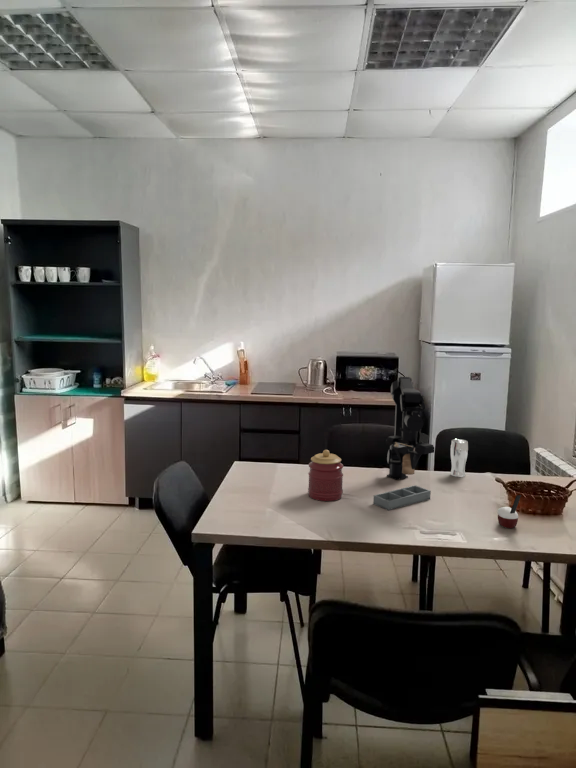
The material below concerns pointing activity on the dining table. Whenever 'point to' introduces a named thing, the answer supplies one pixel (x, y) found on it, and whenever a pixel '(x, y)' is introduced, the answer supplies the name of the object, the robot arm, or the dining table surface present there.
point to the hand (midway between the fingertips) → (408, 467)
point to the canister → (325, 477)
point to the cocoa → (509, 514)
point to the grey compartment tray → (401, 497)
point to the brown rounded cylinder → (407, 465)
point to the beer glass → (458, 457)
